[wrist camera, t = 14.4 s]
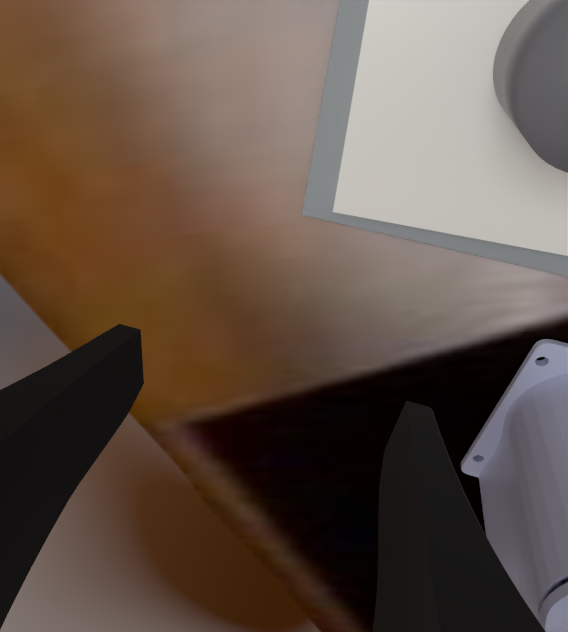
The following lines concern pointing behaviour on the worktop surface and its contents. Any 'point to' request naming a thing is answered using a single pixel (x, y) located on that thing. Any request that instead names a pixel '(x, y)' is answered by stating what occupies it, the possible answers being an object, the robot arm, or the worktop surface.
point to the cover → (462, 120)
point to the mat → (332, 146)
